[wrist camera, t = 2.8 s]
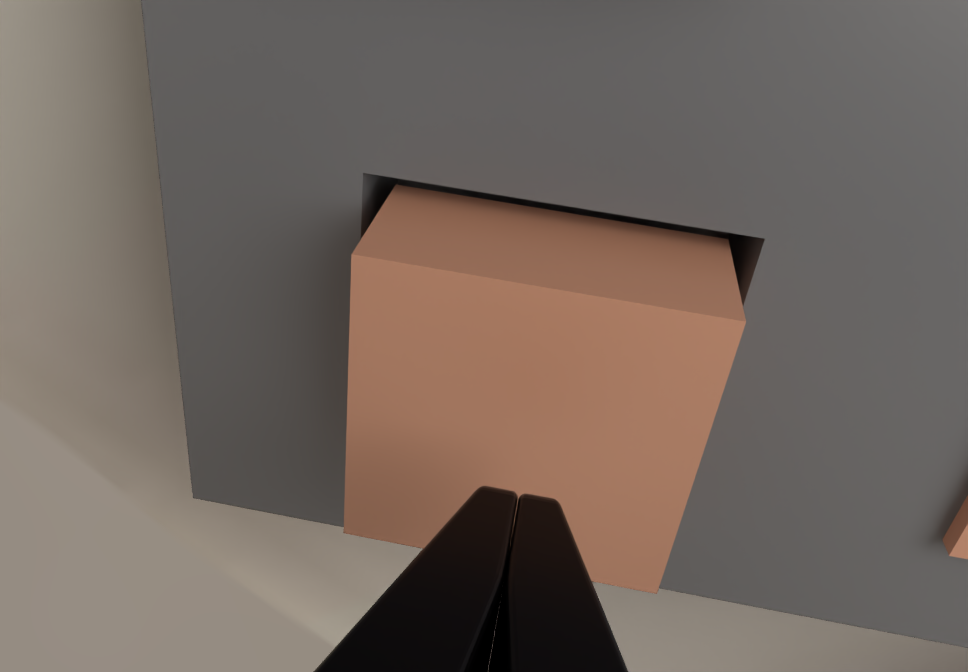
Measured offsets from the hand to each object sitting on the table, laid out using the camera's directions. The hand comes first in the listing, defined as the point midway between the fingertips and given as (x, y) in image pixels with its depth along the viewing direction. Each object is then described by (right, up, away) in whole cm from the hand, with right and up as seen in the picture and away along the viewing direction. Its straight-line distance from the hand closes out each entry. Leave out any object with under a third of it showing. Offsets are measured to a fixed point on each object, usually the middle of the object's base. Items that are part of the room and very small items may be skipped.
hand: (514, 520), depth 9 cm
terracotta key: (0, +2, +3) cm, 3 cm away
